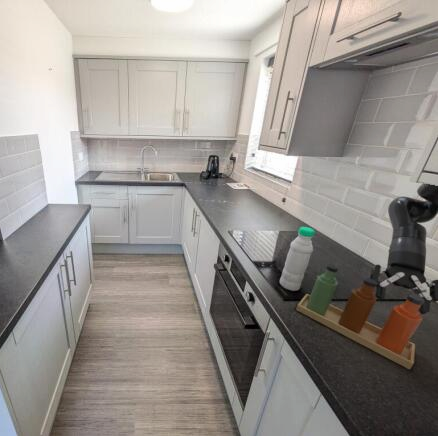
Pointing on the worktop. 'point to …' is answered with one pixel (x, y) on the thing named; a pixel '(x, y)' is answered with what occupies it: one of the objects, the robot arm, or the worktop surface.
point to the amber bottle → (359, 306)
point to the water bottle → (297, 260)
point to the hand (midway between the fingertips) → (401, 306)
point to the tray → (364, 337)
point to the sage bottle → (323, 291)
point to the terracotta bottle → (401, 325)
